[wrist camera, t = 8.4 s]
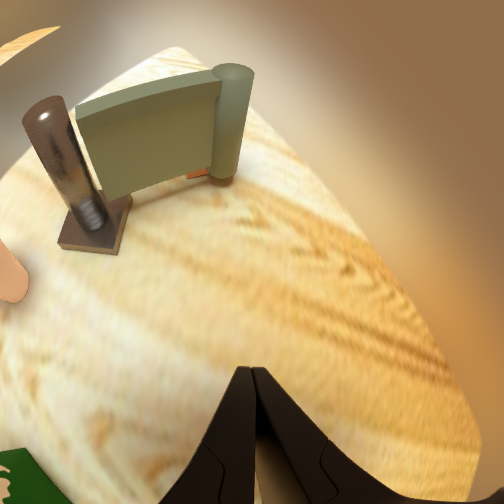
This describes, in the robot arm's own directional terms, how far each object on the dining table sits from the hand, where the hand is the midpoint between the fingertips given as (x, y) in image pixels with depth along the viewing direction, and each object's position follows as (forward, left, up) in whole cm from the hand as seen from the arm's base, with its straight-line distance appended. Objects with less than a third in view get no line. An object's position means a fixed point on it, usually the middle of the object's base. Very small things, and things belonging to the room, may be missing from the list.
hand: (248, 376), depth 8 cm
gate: (+17, -1, -11) cm, 21 cm away
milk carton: (-7, +22, -13) cm, 27 cm away
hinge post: (+16, +7, -13) cm, 22 cm away
